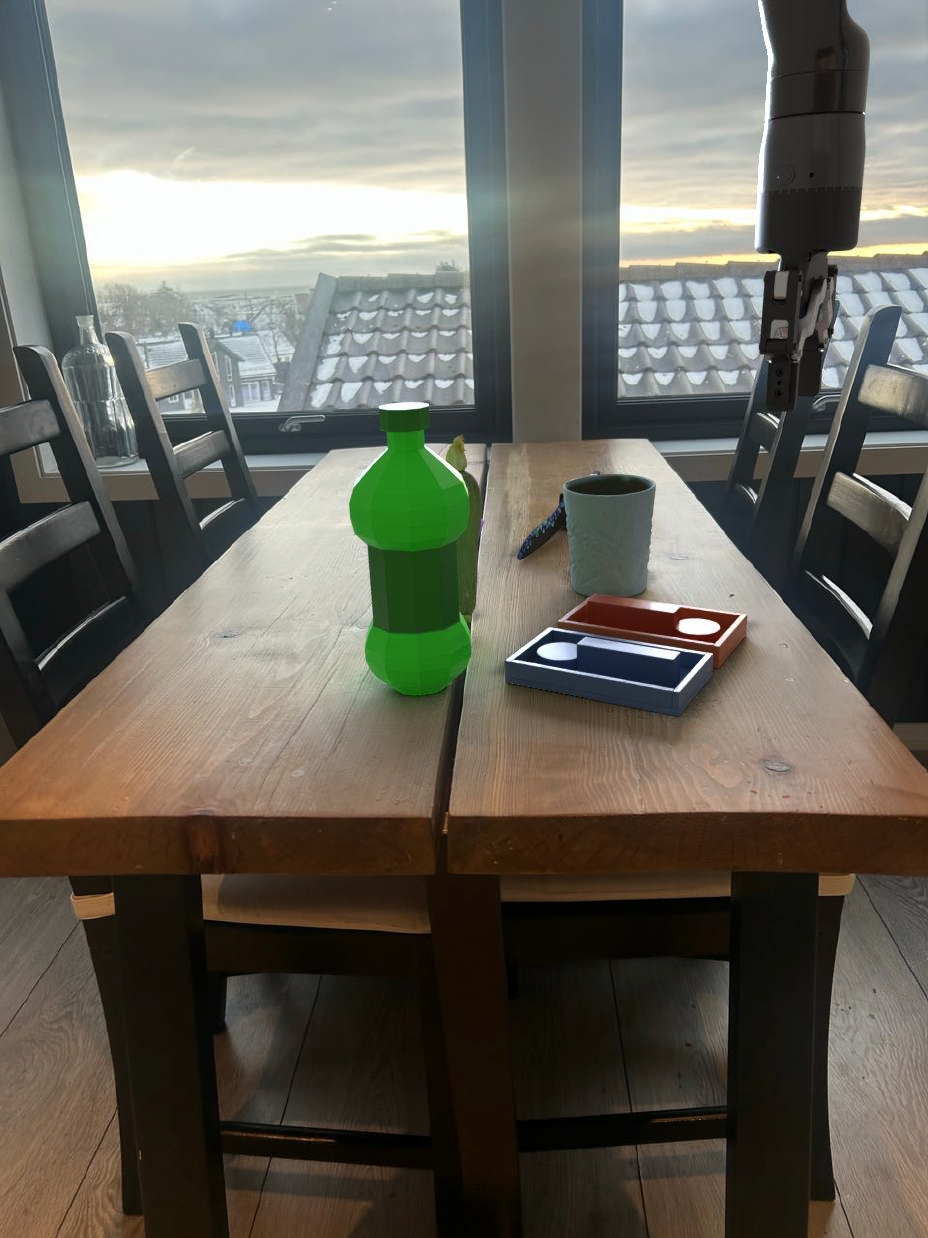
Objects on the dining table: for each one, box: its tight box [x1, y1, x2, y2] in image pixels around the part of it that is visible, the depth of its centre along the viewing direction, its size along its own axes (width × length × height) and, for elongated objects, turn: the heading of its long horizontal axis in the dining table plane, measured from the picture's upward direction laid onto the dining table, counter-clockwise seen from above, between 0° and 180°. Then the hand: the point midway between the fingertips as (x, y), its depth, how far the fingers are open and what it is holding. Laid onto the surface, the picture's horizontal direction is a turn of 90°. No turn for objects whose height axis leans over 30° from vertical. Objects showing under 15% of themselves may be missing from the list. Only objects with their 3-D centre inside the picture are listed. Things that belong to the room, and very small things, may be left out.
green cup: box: [562, 473, 657, 598], centre depth 112 cm, size 10×10×12 cm
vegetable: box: [445, 434, 483, 625], centre depth 101 cm, size 4×4×20 cm
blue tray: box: [504, 627, 714, 717], centre depth 90 cm, size 16×9×2 cm, turn 60°
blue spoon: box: [537, 637, 681, 689], centre depth 89 cm, size 13×4×3 cm, turn 60°
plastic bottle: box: [348, 401, 472, 697], centre depth 87 cm, size 10×10×25 cm
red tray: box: [557, 593, 748, 669], centre depth 99 cm, size 16×9×2 cm, turn 60°
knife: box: [516, 470, 601, 561], centre depth 136 cm, size 31×3×4 cm, turn 151°
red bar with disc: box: [587, 595, 721, 644], centre depth 98 cm, size 13×4×3 cm, turn 60°
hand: (794, 402), depth 81 cm, fingers open, 8 cm apart
